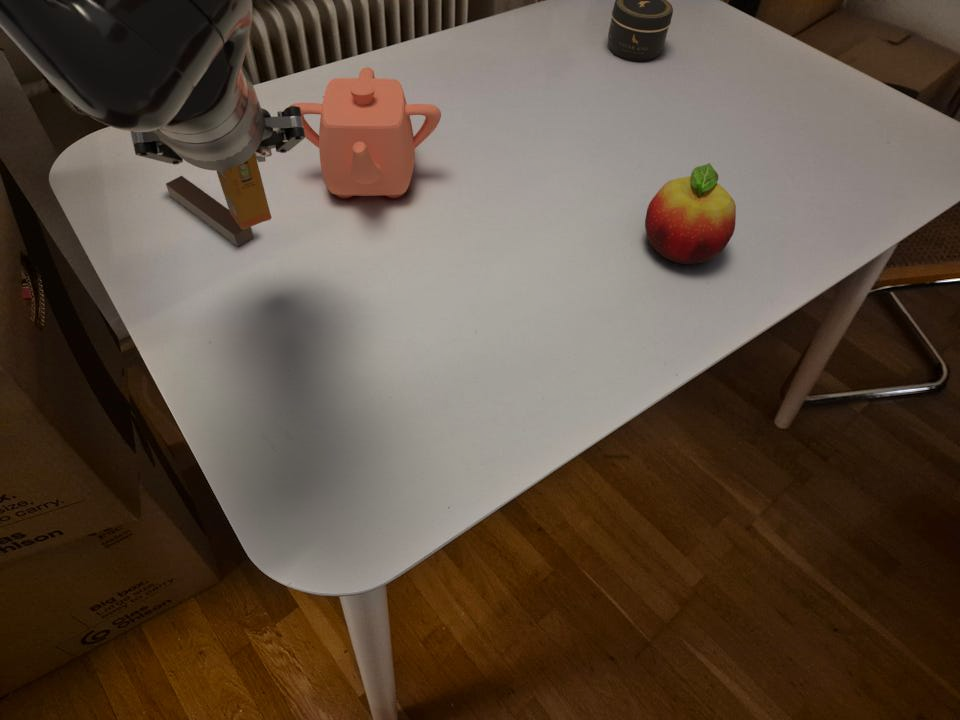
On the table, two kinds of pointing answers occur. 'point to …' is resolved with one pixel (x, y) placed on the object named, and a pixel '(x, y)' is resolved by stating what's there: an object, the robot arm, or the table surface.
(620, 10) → the jar
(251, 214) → the supplement box
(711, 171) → the fruit
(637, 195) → the table surface
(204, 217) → the walnut stick
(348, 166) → the teapot
